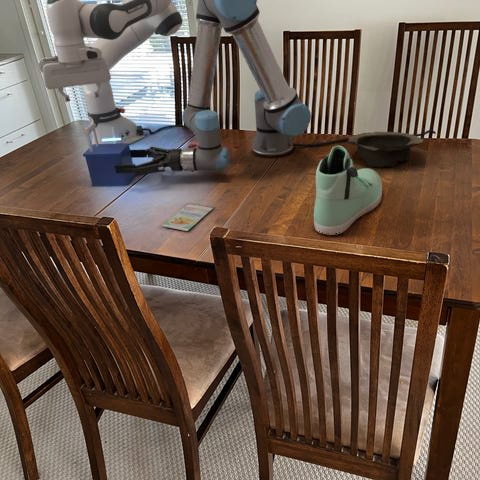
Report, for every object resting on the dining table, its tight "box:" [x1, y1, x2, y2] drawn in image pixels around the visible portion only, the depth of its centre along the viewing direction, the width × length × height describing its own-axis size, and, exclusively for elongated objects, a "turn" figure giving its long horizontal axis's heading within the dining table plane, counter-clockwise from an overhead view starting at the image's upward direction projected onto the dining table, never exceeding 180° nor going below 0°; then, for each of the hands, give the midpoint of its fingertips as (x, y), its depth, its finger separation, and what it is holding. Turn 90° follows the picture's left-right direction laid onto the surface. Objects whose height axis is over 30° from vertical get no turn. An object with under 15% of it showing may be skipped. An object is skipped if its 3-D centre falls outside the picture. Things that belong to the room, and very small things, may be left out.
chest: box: [84, 146, 135, 187], centre depth 166 cm, size 12×10×11 cm
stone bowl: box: [347, 131, 425, 168], centre depth 166 cm, size 25×25×9 cm
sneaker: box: [313, 145, 383, 236], centre depth 133 cm, size 14×35×20 cm, turn 152°
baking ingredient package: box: [160, 203, 214, 232], centre depth 141 cm, size 9×1×15 cm
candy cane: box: [187, 141, 198, 148], centre depth 187 cm, size 6×15×2 cm, turn 145°
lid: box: [82, 123, 130, 158], centre depth 161 cm, size 13×10×9 cm
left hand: (82, 99), depth 155 cm, fingers open, 8 cm apart
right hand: (122, 161), depth 164 cm, fingers open, 13 cm apart
